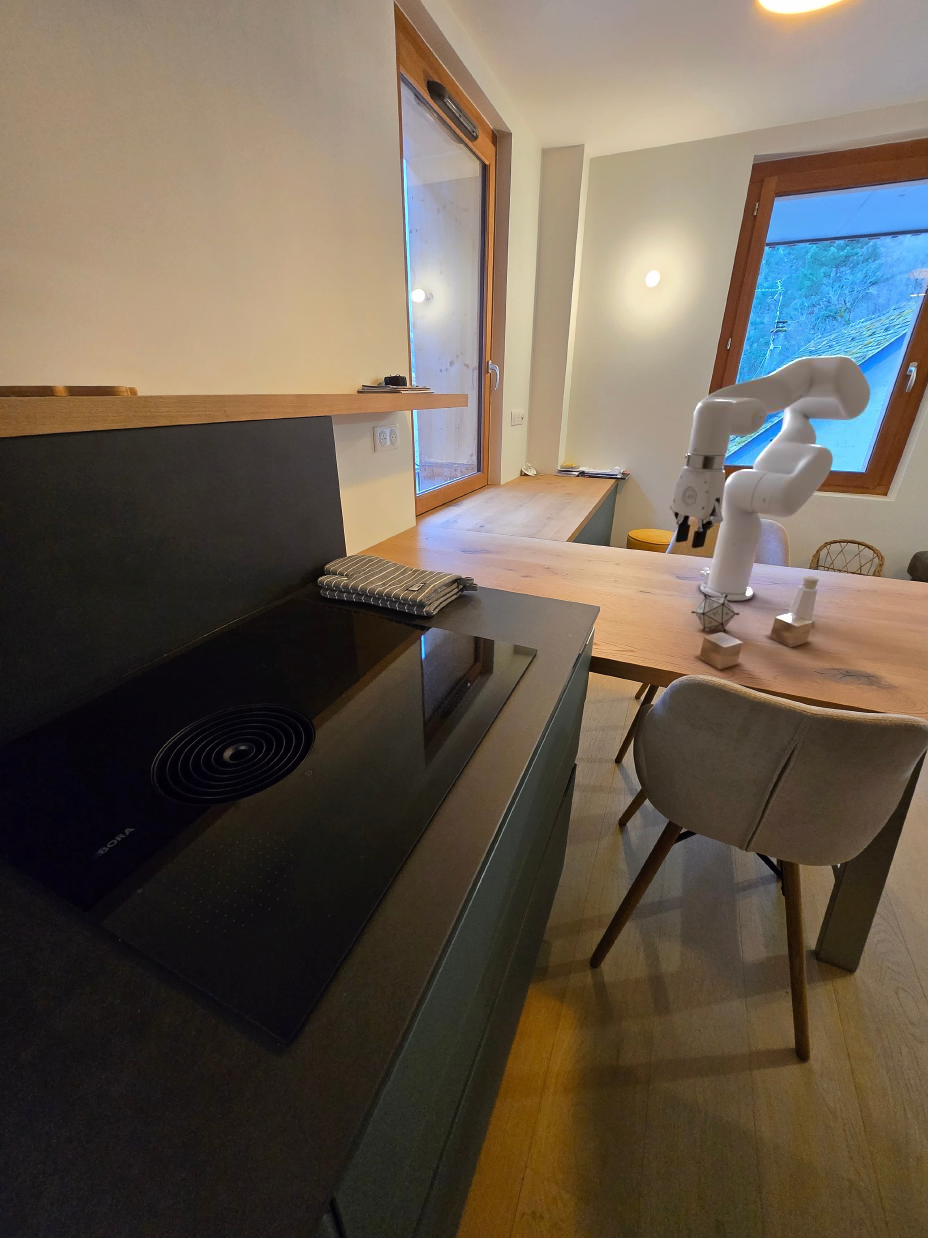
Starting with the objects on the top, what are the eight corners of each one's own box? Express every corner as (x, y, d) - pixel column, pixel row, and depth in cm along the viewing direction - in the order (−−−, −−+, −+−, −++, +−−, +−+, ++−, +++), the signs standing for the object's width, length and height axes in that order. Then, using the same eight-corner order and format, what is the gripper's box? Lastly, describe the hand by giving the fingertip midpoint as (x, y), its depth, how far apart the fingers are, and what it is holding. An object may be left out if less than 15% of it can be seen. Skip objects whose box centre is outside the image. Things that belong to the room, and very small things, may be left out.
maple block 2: (769, 637, 108) (775, 617, 106) (784, 633, 110) (790, 612, 108) (790, 647, 104) (797, 626, 102) (806, 642, 106) (813, 621, 104)
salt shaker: (803, 629, 112) (818, 584, 107) (779, 620, 116) (792, 576, 111) (816, 623, 114) (830, 578, 110) (791, 614, 119) (804, 571, 114)
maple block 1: (698, 658, 101) (703, 636, 99) (716, 652, 103) (721, 631, 101) (719, 669, 97) (724, 647, 95) (737, 664, 99) (743, 642, 96)
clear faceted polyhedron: (714, 646, 113) (735, 627, 104) (680, 627, 115) (697, 606, 106) (731, 618, 116) (752, 597, 107) (697, 600, 118) (714, 578, 109)
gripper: (662, 458, 111) (650, 537, 119) (725, 469, 98) (706, 557, 106) (687, 456, 114) (674, 533, 122) (751, 466, 100) (731, 552, 108)
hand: (689, 543), depth 114 cm, fingers open, 4 cm apart
